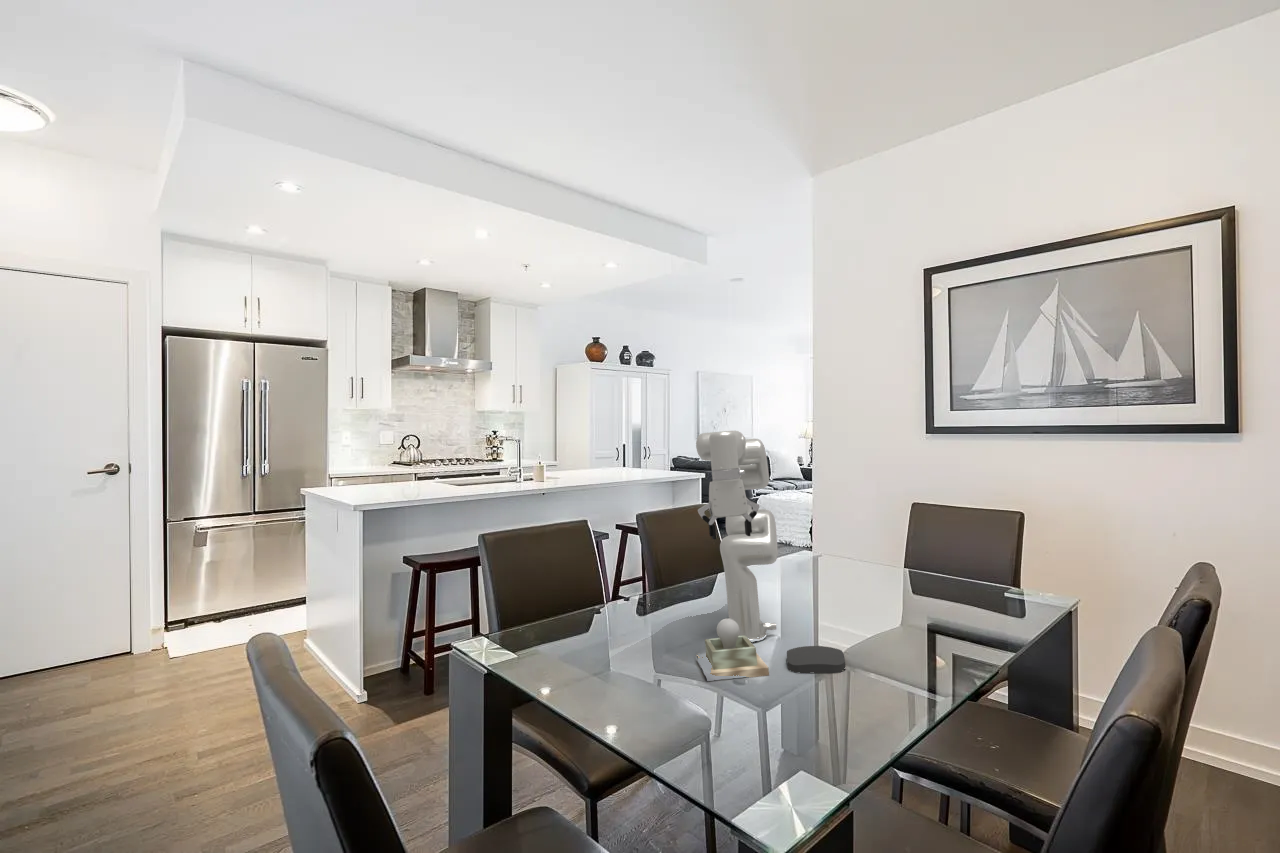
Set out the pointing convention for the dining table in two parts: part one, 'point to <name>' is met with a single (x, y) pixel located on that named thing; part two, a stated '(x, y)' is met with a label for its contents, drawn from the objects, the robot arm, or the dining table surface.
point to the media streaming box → (815, 659)
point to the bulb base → (735, 659)
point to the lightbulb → (728, 633)
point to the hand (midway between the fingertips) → (731, 537)
